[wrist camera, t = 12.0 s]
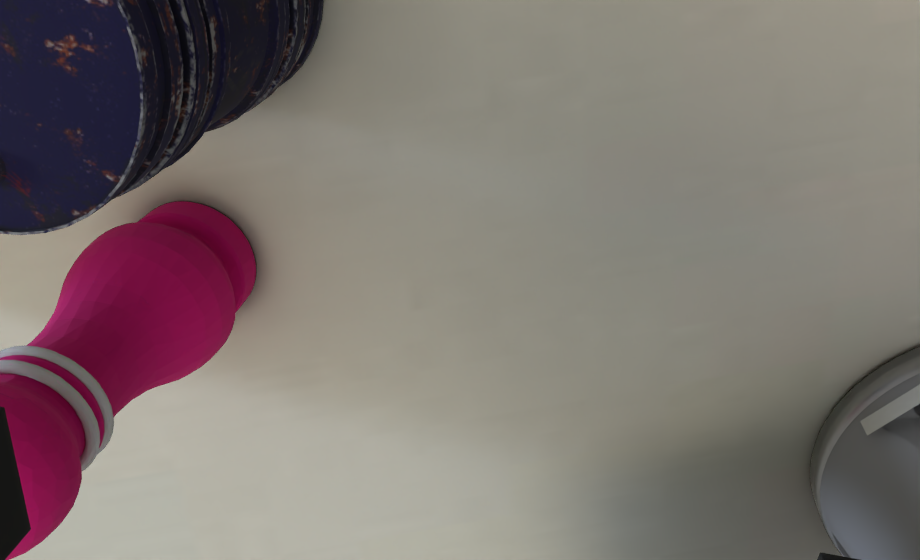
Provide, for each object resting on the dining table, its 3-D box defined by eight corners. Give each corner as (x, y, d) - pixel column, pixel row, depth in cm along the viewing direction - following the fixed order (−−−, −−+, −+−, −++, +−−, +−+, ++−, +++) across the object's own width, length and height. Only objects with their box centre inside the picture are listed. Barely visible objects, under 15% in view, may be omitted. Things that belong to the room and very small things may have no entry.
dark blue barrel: (85, -162, 31) (-292, -192, 17) (327, -137, 30) (123, -149, 17) (114, 89, 35) (-165, 214, 22) (325, 116, 34) (164, 263, 21)
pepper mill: (259, 195, 37) (-40, 486, 19) (273, 327, 40) (29, 678, 22) (116, 185, 38) (-298, 454, 20) (141, 314, 41) (-194, 643, 23)
